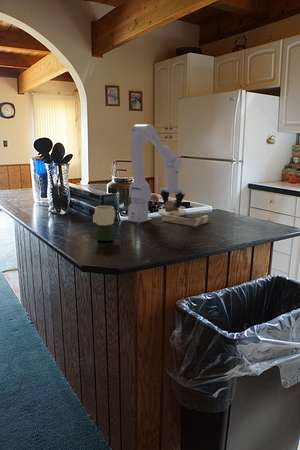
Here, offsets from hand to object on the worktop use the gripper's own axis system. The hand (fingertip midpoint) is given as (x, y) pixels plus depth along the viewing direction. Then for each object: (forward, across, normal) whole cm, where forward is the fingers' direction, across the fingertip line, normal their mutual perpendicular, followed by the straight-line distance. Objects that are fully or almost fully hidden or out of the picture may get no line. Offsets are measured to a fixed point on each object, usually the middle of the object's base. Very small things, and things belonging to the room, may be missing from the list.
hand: (172, 206), depth 193 cm
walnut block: (+2, 0, 0) cm, 2 cm away
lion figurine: (+4, +22, -8) cm, 23 cm away
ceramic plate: (+3, 0, 0) cm, 3 cm away
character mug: (+4, -9, +58) cm, 59 cm away
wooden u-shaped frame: (+3, -15, +11) cm, 19 cm away
